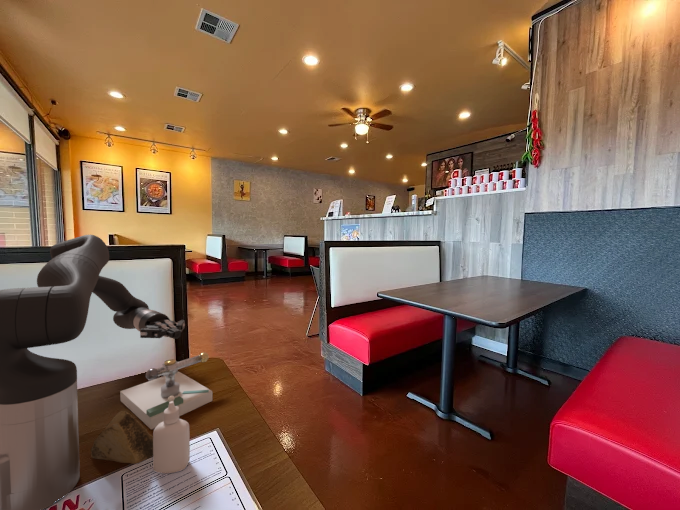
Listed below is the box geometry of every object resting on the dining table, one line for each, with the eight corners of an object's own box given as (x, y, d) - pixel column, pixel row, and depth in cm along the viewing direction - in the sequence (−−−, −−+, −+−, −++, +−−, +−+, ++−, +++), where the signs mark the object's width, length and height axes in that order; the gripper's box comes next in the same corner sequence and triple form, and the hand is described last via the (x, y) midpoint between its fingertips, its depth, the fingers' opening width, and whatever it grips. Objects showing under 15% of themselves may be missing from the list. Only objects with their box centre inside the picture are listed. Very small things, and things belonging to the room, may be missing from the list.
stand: (151, 429, 62) (150, 407, 61) (120, 400, 72) (120, 381, 72) (212, 400, 73) (212, 382, 73) (178, 379, 83) (178, 363, 83)
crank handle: (149, 396, 66) (148, 370, 65) (143, 391, 68) (143, 366, 67) (211, 372, 78) (211, 350, 78) (204, 369, 80) (204, 348, 80)
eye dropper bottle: (172, 453, 55) (172, 392, 54) (193, 463, 53) (193, 399, 52) (149, 470, 51) (148, 404, 50) (171, 481, 49) (170, 413, 48)
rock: (68, 454, 51) (90, 470, 46) (100, 402, 56) (124, 412, 51) (126, 459, 58) (151, 474, 53) (151, 413, 63) (176, 423, 58)
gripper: (126, 315, 86) (151, 327, 76) (173, 307, 97) (200, 317, 87) (127, 339, 87) (152, 355, 77) (173, 329, 98) (200, 341, 88)
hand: (177, 334), depth 82 cm, fingers closed
